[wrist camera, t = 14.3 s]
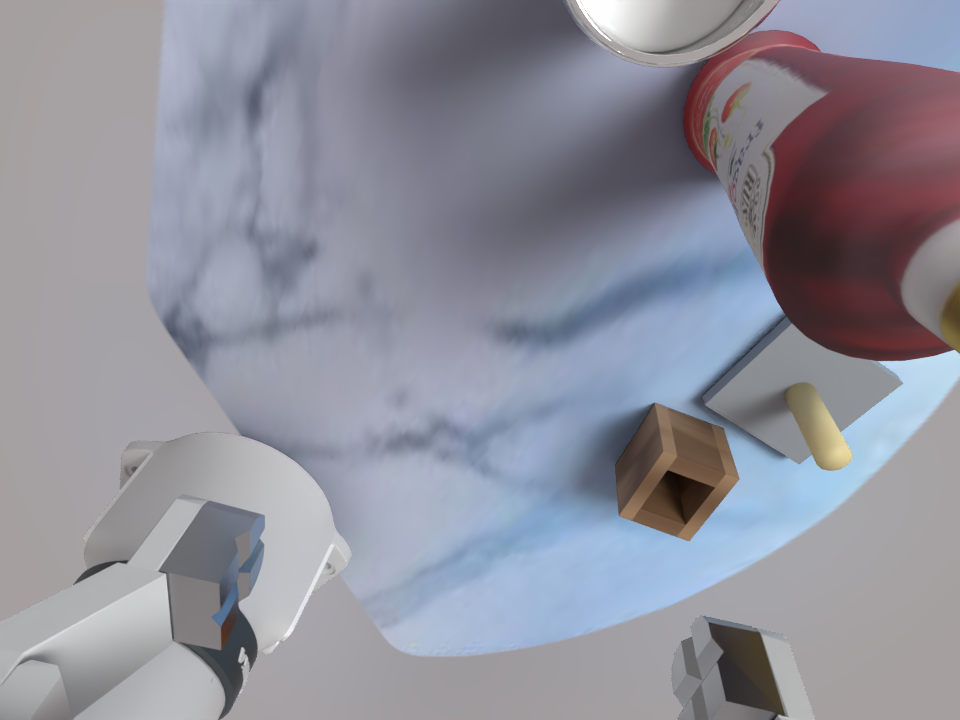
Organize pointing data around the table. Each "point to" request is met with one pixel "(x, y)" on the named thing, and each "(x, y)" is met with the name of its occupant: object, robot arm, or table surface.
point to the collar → (674, 472)
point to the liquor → (840, 188)
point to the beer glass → (667, 27)
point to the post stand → (800, 395)
